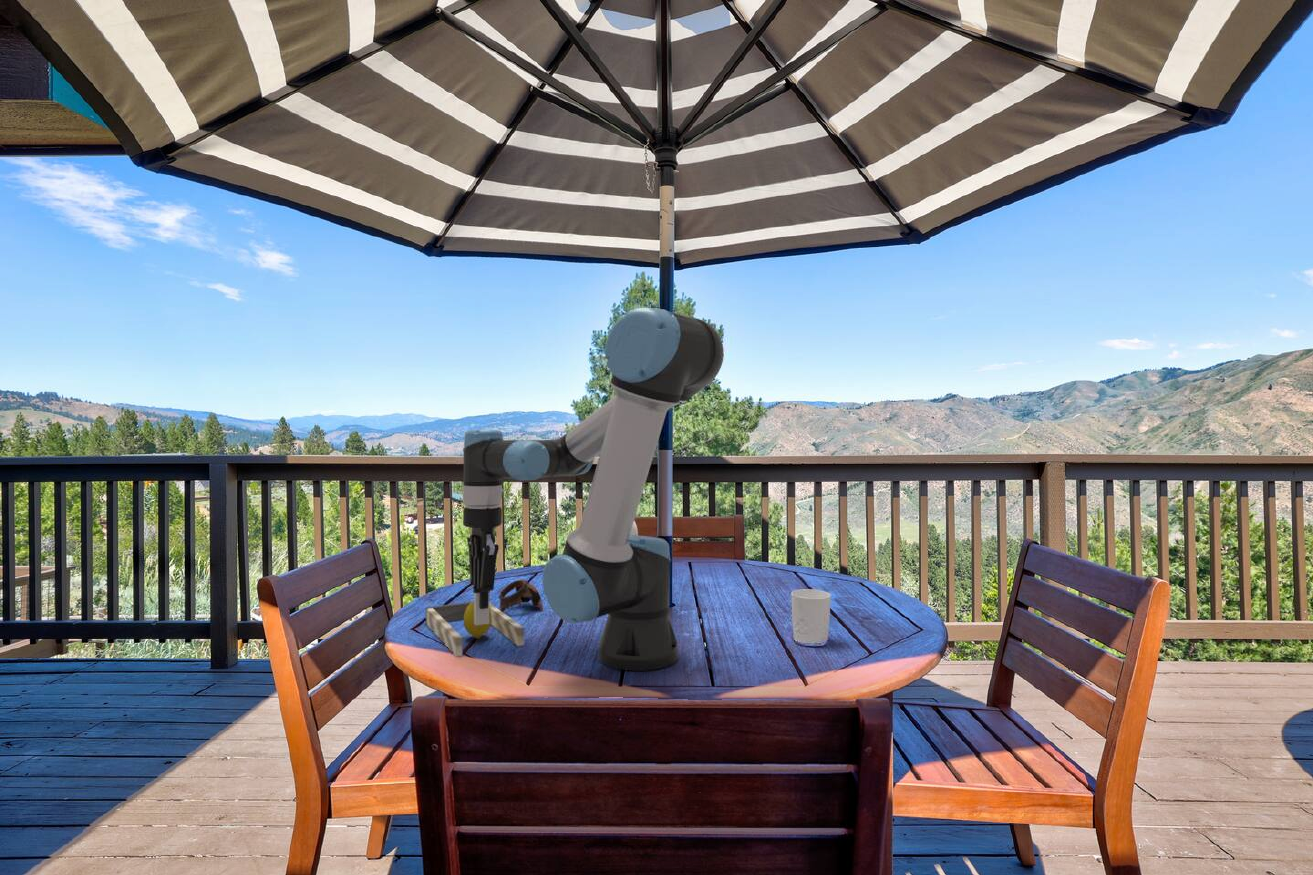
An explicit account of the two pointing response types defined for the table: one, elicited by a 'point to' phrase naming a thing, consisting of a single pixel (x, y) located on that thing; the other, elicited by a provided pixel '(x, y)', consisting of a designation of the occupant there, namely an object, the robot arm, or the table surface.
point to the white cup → (810, 615)
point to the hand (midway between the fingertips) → (481, 623)
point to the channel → (454, 612)
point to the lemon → (469, 622)
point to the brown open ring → (520, 595)
